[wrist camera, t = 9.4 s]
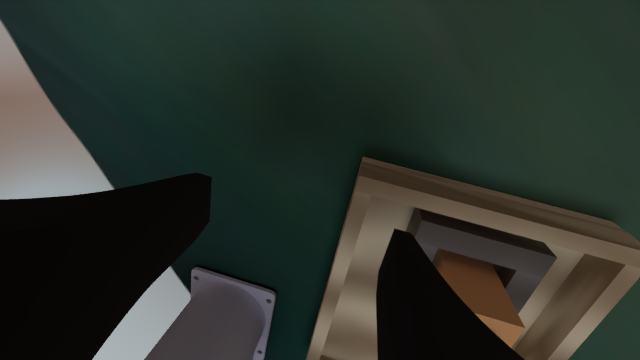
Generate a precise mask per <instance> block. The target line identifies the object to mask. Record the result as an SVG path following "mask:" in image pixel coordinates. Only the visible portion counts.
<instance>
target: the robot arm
mask: <svg viewBox="0 0 640 360" xmlns="http://www.w3.org/2000/svg"><path fill="white" fill-rule="evenodd" d="M211 180H212V177H210V176H206V175H203V174H199V173H193V174H186V175H181V176H176V177H172V178H167V179H163V180H158V181H154V182H149V183H145V184H140V185H135V186H130V187H125V188H120V189H114V190H109V191H103V192H96V193H89V194H80V195H73V196H60V197H47V198H33V199H9V200H0V360H92V359H93V357H94V356H95V355H96V353H97V352H98V351H99V349H100V348H101V346H102V345H103V344H104V342H105V341H106V340H107V338H108V337H109V336H110V335H111V333H112V332H113V331H114V329H115V328H116V327H117V325H118V324H119V323H120V322H121V320H122V319H123V318H124V316H125V315H126V314H127V313H128V311H129V310H130V309H131V308H132V307H133V305H134V304H135V303H136V302H137V300H138V299H139V298H140V297H141V296H142V294H143V293H144V292H145V291H146V290H147V289H148V288H149V287H150V285H151V284H152V283H153V282H154V281H155V280H156V279H157V278H158V277H159V276H160V275H161V274H162V273H163V272H164V271H165V270H166V269H167V268H168V267H169V266H170V265H171V264H172V263H173V262H174V261H175V260H176V259H177V258H178V257H179V256H180V255H181V254H182V253H183V252H184V251H185V250H186V249H187V248H188V247H189V246H190V245H191V244H192V243H193V242H194V241H195V240H196V238H197V237H198V236H199V235H200V233H201V232H202V231H203V229H204V228H205V226H206V225H207V224H208V222H209V218H210V199H211ZM269 299H270V300H269ZM275 300H276V293H275V292H274V291H272V290H270V289H266V288H263V287H260V286H257V285H254V284H250V283H247V282H244V281H241V280H238V279H234V278H231V277H228V276H225V275H222V274H218V273H215V272H212V271H209V270H206V269H202V268H199V267H195V268H194V269H193V270H192V272H191V300H190V302H189V303H188V304H187V306H186V307H185V308H184V309H183V311H182V312H181V313H180V315H179V316H178V317H177V319H176V320H175V321H174V322H173V324H172V325H171V326H170V327H169V329H168V330H167V331H166V333H165V334H164V335H163V336H162V338H161V339H160V340H159V341H158V343H157V344H156V345H155V347H154V348H153V349H152V350H151V352H150V353H149V354H148V355H147V357H146V358H145V359H144V360H264V357H265V352H266V347H267V342H268V336H269V331H270V326H271V321H272V315H273V310H274V305H275ZM376 318H377V351H378V360H525V359H524V358H522V357H521V356H520V355H519V354H518V353H516V352H515V351H514V350H513V349H512V348H511V347H509V346H508V345H507V344H506V343H505V342H504V341H503V340H502V339H501V338H500V337H498V336H497V335H496V334H495V333H494V332H493V331H492V330H491V329H490V328H489V327H488V326H487V325H486V324H485V323H484V322H482V321H481V320H480V319H479V317H478V316H477V315H476V314H475V313H474V312H473V311H472V310H471V309H470V308H469V307H468V306H467V305H466V304H465V303H464V302H463V301H462V299H461V298H460V297H459V296H458V295H457V294H456V293H455V291H454V290H453V289H452V288H451V287H450V285H449V284H448V283H447V282H446V281H445V279H444V278H443V277H442V275H441V274H440V273H439V271H438V270H437V269H436V267H435V266H434V265H433V263H432V262H431V261H430V259H429V258H428V256H427V255H426V253H425V252H424V251H423V249H422V248H421V246H420V245H419V243H418V242H417V240H416V239H415V238H414V236H413V235H412V234H411V233H409V232H406V231H402V230H399V229H395V228H394V231H393V234H392V236H391V239H390V242H389V244H388V247H387V250H386V252H385V255H384V258H383V260H382V263H381V266H380V268H379V271H378V280H377V290H376Z"/></svg>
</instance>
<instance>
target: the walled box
mask: <svg viewBox="0 0 640 360" xmlns="http://www.w3.org/2000/svg"><path fill="white" fill-rule="evenodd" d="M394 228H395V229H399V230H402V231H406V232H409V233H411V234H412V235H413V236H414V238H415V239H416V240H417V242H418V243H419V245H420V246H421V248H422V249H423V251H424V252H425V253H426V255H427V256H428V258H429V259H430V261H431V262H432V260H433V258H434V256H435V254H436V252H437V250H438V248H440V249H443V250H447V251H450V252H454V253H457V254H461V255H464V256H468V257H472V258H475V259H479V260H482V261H486V262H489V263H492V265H493V267H494V269H495V271H496V273H497V275H498V277H499V279H500V280H501V282H502V284H503V286H504V288H505V290H506V292H507V294H508V296H509V298H510V300H511V302H512V303H513V305H514V307H515V309H516V311H517V313H518V315H519V317H520V319H521V321H522V323H523V325H524V326H525V330H524V331H523V332H522V334H521V335H520V336H519V338H518V339H517V341H516V342H515V343H514V345H513V346H512V347H511V348H512V349H513V350H514V351H515V352H516V353H518V354H519V355H520V356H521V357H522V358H524V359H525V360H568V359H569V357H570V356H571V355H572V354H573V353H574V352H575V351H576V349H577V348H578V347H579V346H580V345H581V344H582V343H583V341H584V340H585V339H586V338H587V337H588V336H589V335H590V333H591V332H592V331H593V330H594V329H595V328H596V327H597V325H598V324H599V323H600V322H601V321H602V320H603V319H604V317H605V316H606V315H607V314H608V313H609V312H610V311H611V309H612V308H613V307H614V306H615V305H616V304H617V303H618V301H619V300H620V299H621V298H622V297H623V296H624V295H625V293H626V292H627V291H628V290H629V289H630V288H631V287H632V285H633V284H634V283H635V282H636V281H637V280H638V279H639V277H640V242H639V241H638V240H637V239H635V238H634V237H633V236H631V235H630V234H628V233H627V232H626V231H624V230H623V229H622V228H620V227H619V226H617V225H616V224H615V223H613V222H612V221H609V220H605V219H601V218H597V217H594V216H590V215H586V214H582V213H578V212H574V211H571V210H567V209H563V208H559V207H555V206H551V205H547V204H544V203H540V202H536V201H532V200H528V199H524V198H521V197H517V196H513V195H509V194H505V193H501V192H498V191H494V190H490V189H486V188H482V187H478V186H474V185H471V184H467V183H463V182H459V181H455V180H451V179H448V178H444V177H440V176H436V175H432V174H428V173H425V172H421V171H417V170H413V169H409V168H405V167H401V166H398V165H394V164H390V163H386V162H382V161H378V160H375V159H371V158H367V157H363V158H362V161H361V165H360V168H359V172H358V175H357V179H356V182H355V186H354V189H353V193H352V196H351V200H350V203H349V207H348V210H347V214H346V217H345V221H344V225H343V228H342V232H341V235H340V239H339V242H338V246H337V249H336V253H335V256H334V260H333V263H332V267H331V270H330V274H329V277H328V281H327V284H326V288H325V292H324V295H323V299H322V302H321V306H320V309H319V313H318V316H317V320H316V323H315V327H314V330H313V334H312V337H311V341H310V344H309V348H308V352H307V356H306V360H378V351H377V318H376V290H377V280H378V271H379V268H380V266H381V263H382V260H383V258H384V255H385V252H386V250H387V247H388V244H389V242H390V239H391V236H392V234H393V231H394Z"/></svg>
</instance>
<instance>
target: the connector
mask: <svg viewBox="0 0 640 360" xmlns="http://www.w3.org/2000/svg"><path fill="white" fill-rule="evenodd" d="M432 263H433V265H434V266H435V267H436V269H437V270H438V271H439V273H440V274H441V275H442V277H443V278H444V279H445V281H446V282H447V283H448V284H449V285H450V287H451V288H452V289H453V290H454V291H455V293H456V294H457V295H458V296H459V297H460V298H461V299H462V301H463V302H464V303H465V304H466V305H467V306H468V307H469V308H470V309H471V310H472V311H473V312H474V313H475V314H476V315H477V316H478V317H479V319H480V320H481V321H482V322H484V323H485V324H486V325H487V326H488V327H489V328H490V329H491V330H492V331H493V332H494V333H495V334H496V335H497V336H498V337H500V338H501V339H502V340H503V341H504V342H505V343H506V344H507V345H508V346H509V347H512V346H513V345H514V343H515V342H516V341H517V339H518V338H519V336H520V335H521V334H522V332H523V331H524V330H525V326H524V325H523V323H522V321H521V319H520V317H519V315H518V313H517V311H516V309H515V307H514V305H513V303H512V302H511V300H510V298H509V296H508V294H507V292H506V290H505V288H504V286H503V284H502V282H501V280H500V279H499V277H498V275H497V273H496V271H495V269H494V267H493V265H492V263H489V262H486V261H482V260H479V259H475V258H472V257H468V256H464V255H461V254H457V253H454V252H450V251H447V250H443V249H440V248H438V250H437V252H436V254H435V256H434V258H433V260H432Z"/></svg>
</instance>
